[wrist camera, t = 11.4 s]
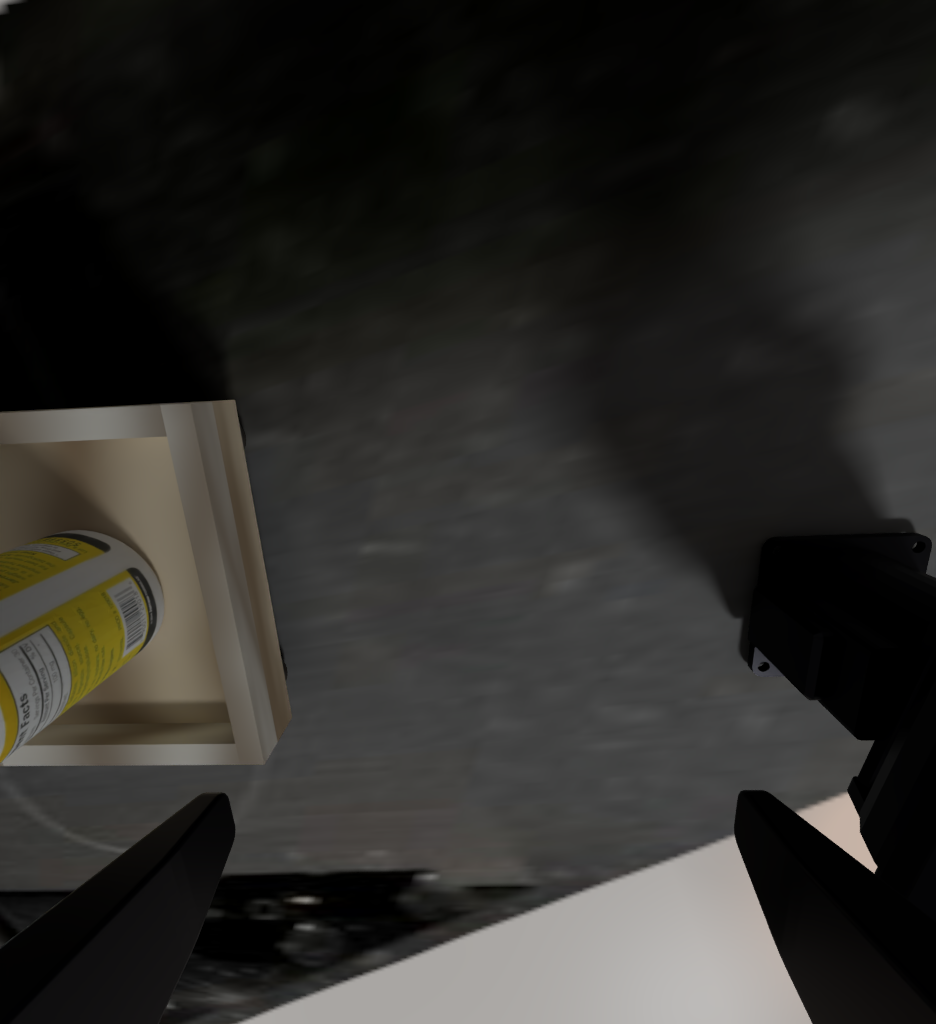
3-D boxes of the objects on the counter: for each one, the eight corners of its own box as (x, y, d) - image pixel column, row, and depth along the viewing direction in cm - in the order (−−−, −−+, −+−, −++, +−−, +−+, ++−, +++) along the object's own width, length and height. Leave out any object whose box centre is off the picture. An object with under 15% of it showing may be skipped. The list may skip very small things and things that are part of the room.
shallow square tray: (260, 397, 19) (190, 403, 15) (308, 689, 23) (264, 764, 19) (-13, 411, 20) (-160, 421, 16) (77, 692, 24) (-20, 766, 19)
